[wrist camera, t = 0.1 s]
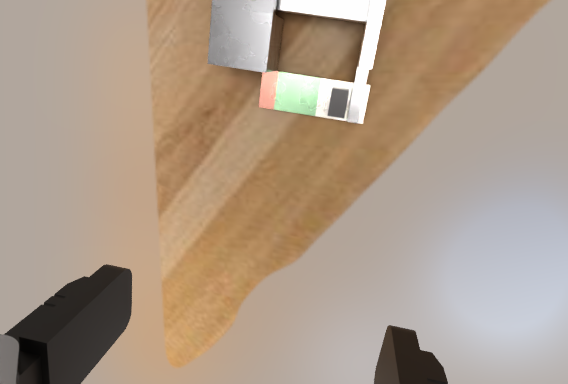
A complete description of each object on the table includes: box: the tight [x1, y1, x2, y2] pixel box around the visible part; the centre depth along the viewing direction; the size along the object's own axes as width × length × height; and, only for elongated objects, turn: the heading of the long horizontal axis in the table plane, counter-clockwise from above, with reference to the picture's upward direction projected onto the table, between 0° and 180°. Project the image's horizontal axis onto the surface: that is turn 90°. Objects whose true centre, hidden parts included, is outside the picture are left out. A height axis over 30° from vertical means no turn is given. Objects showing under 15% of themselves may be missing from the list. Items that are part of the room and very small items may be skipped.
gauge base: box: [208, 0, 370, 124], centre depth 34 cm, size 16×14×6 cm
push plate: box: [276, 0, 386, 123], centre depth 33 cm, size 14×11×7 cm
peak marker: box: [327, 86, 349, 118], centre depth 36 cm, size 2×2×2 cm, turn 172°
